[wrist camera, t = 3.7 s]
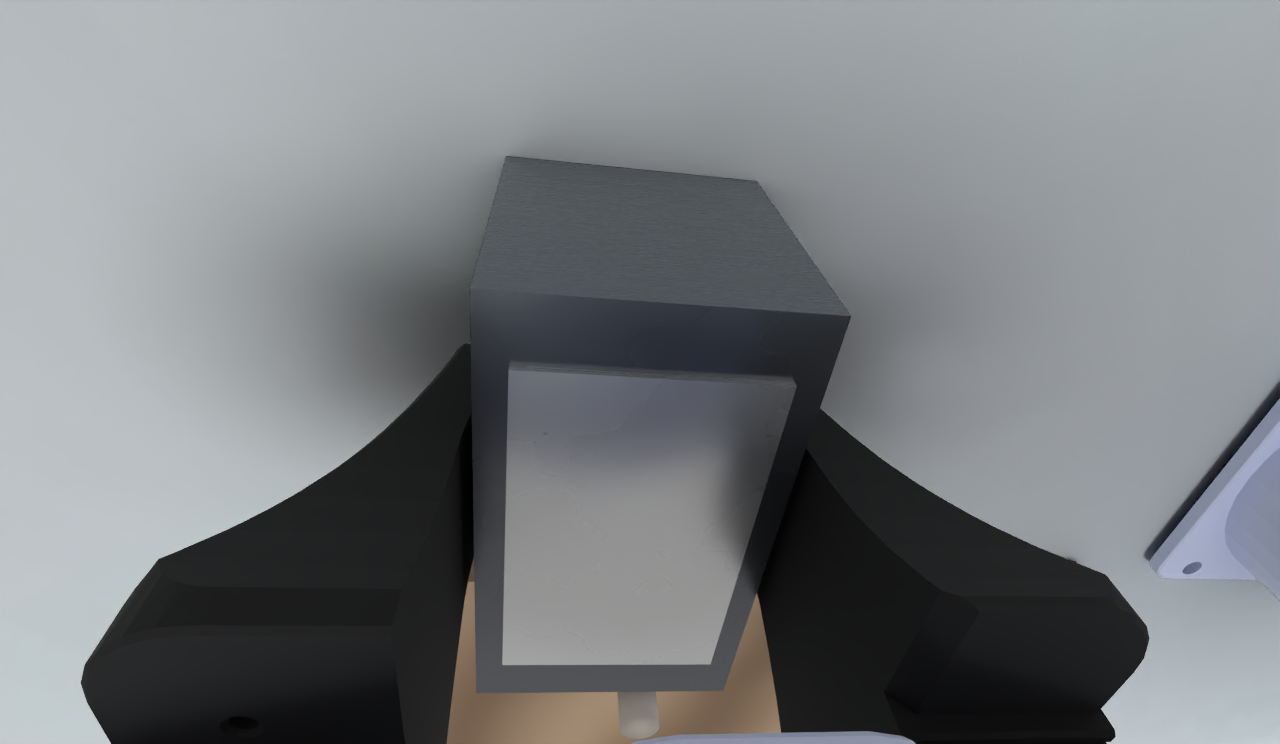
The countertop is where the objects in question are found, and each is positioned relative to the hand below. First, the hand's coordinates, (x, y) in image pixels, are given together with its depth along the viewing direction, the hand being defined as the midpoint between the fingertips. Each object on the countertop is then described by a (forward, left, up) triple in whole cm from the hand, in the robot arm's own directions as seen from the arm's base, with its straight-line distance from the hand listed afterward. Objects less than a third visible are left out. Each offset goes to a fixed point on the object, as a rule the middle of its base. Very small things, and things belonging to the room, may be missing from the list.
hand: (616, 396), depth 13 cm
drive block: (0, 0, -1) cm, 1 cm away
